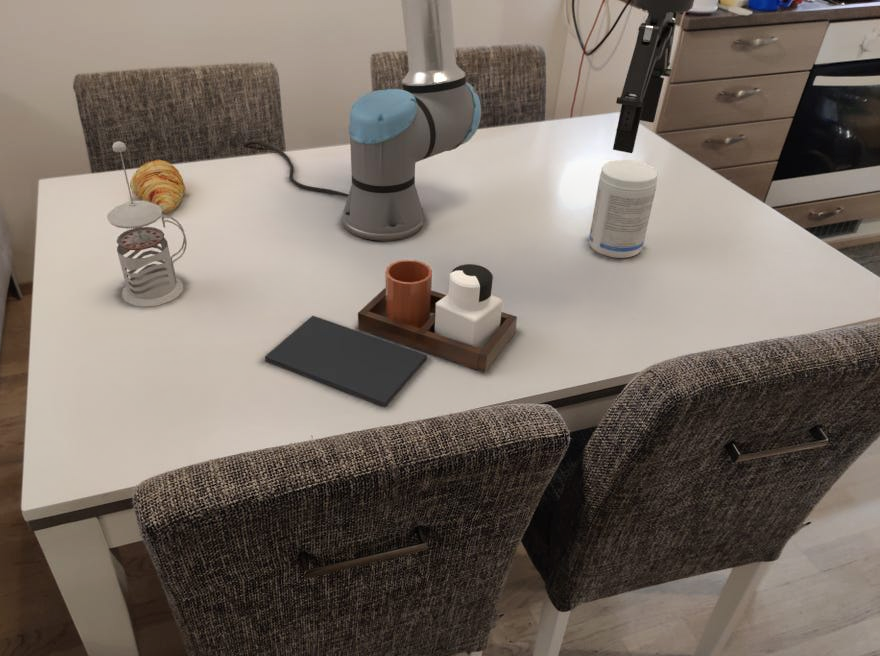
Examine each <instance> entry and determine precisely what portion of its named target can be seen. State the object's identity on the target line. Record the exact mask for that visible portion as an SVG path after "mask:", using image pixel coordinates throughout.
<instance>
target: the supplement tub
mask: <svg viewBox="0 0 880 656" xmlns="http://www.w3.org/2000/svg"><path fill="white" fill-rule="evenodd" d="M658 175H659V173H658V171H657V169H656V168H655V167H653V166H652V165H650V164H648V163H644V162H642V161H637V160H631V159H630V160H629V159H619V160H618V159H617V160H611V161H609V162H606V163H604V164H603V165H602V167H601V171H600V173H599V179H598V182H597V183H598V184H597V188H596V189H597V190H596V196H595V201H594V207H593V212H592V213H593V214H592V218H591V225H590V230H589V238H588V243H589V246H590V248H592V250H594V251H595V252H596V253H598V254H600V255H603V256H606V257H610V258H614V259H615V258H616V259H625V258H630V257H634V256H636V255H638V254H639V253H640V252H641V251H642V249H643V247H644V243H645V238H646V234H647V230H648V225H649V221H650V216H651V213H652V208H653V203H654V198H655V194H656V189H657V183H658Z"/></svg>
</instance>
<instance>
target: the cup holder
mask: <svg viewBox="0 0 880 656" xmlns="http://www.w3.org/2000/svg"><path fill="white" fill-rule="evenodd" d="M446 295H447V294H446V293H442V292H438V291H436V290H432V289H431V312H434V313H433V314H432V315H430V318H429V320H428V321H427V322H426V323H425V324H424V325H423V326H422V327H421V328H417V327H414V326H411V325H408V324H405V323H402V322H399V321H396V320H393V319H390V318H387V317H386V316H385V315H383V314H384V313H386V286H385V287H384V288H383V289H382V290H381V291H380V292H378V294H376V295H375V297H373V298H372V299H371V300H370V301H369V302H367V304H366V305H365V306H363V307H362V309H360V310H359V311H358V312H357V328H358V330H360V331H363V332H366V333H369V334H372V335H374V336H378V337H381V338H384V339H385V340H386V339H387V340H390V341H393V342H395V343H398V344H401V345H404V346H407V347H410V348H413V349H415V350H418V351H421V352H425V353H427V354H430V355H433V356H436V357H438V358H442V359H444V360H447V361H450V362H453V363H456V364H460V365H462V366H465V367H468V368H470V369H474V370H477V371H478V372H479V371H480V372H483V373H486V372H487V371H488V369H489V368H490V367H491V365H492V364H493V363H494V361H495V360H497V357H498V356H499V355H500V353H501V352H502V351H503V349H504V348H505V347H506V345H508V343H509V342H510V340H511V339H512V337H513V336H514V335H515V334H516V330H517V322H518V316H516V315H514V314H510V313H508V312H507V313H506V312H504V311H502V312H501V321H500V328H499V329H498V330H497V332H496V333H495V334H494V335H493V337H492V338H491V339H490V340H489V342H488V343H487V344H486V346H485V347H484V348H483V349H481V348H478V347H475V346H472V345H469V344H466V343H463V342H460V341H457V340H454V339H451V338H448V337H444V336H441V335H438V334H435V333H434V330H435V308H436V303H437V302H438V301H439V300H441V299H442V298H444V297H445V296H446Z"/></svg>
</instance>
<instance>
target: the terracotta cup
mask: <svg viewBox="0 0 880 656" xmlns="http://www.w3.org/2000/svg"><path fill="white" fill-rule="evenodd" d="M432 285H433V270H432V268H431V266H430V265H428V264H426V263H425V262H423V261H419V260H416V259H403V260H397V261H394V262H392V263H390V264H389V265H388V266H387V267H386V269H385V287H386V311H385V317H387V318H390V319H393V320H396V321H399V322H402V323H405V324H408V325H411V326H414V327H417V328H421V327H422V326H423V325H424V324H425V323H426V322H427V321H428V320H429V318H430V317H431V312H432V311H431V290H432Z"/></svg>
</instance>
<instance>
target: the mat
mask: <svg viewBox="0 0 880 656" xmlns="http://www.w3.org/2000/svg"><path fill="white" fill-rule="evenodd" d="M264 359H265V362H268V363H271V364H272V365H275V366H278V367H280V368H283V369H286V370H288V371H290V372H294V373H296V374H298V375H301V376H304V377H306V378H309V379H312V380H314V381H317V382H320V383H322V384H325V385H327V386H330V387H332V388H335V389H337V390H340V391H342V392H346V393H348V394H350V395H353V396H355V397H358V398H360V399H363V400H366V401H368V402H371V403H373V404H375V405H379V406H381V407H383V408H386V407H387V405H388V404H390V402H391V401H392V400H393V398H394V397H396V395H397V394H398V393H399V392H400V390H401V389H402V388H403V387H404V386H405V385H406V384H407V382H409V380H410V379H411V378H412V377H413V376H414V374H416V372H417V371H418V370H419V369H420V367H421V366H422V365H423V364H424V363H425V362H426V361H427V359H428V355H427V354H425V353H422V352H420V351H416V350H413V349H410V348H408V347H405V346H401V345H399V344H396V343H393V342H390V341H387V340H386V339H385V340H384V339H382V338H379V337H376V336H373V335H371V334H367V333H364V332H361V331H359V330H355V329H353V328H350V327H347V326H344V325H342V324H338V323H336V322H333V321H329V320H327V319H324V318H321V317H318V316H315V315H311V316H310V317H309V318H308V319H306V321H304V322H303V323H302V324H301V325H300V326H298V327H297V328H296V329H295V330H294V331H293V332H291V334H289V335H288V336H287V337H286V338H285V339H284V340H282V341H281V342H280V343H279V344H278V345H277V346H275V347H274V348H273V349H271V351H269V352H268V353H267V354H266V355H265V356H264Z"/></svg>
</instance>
